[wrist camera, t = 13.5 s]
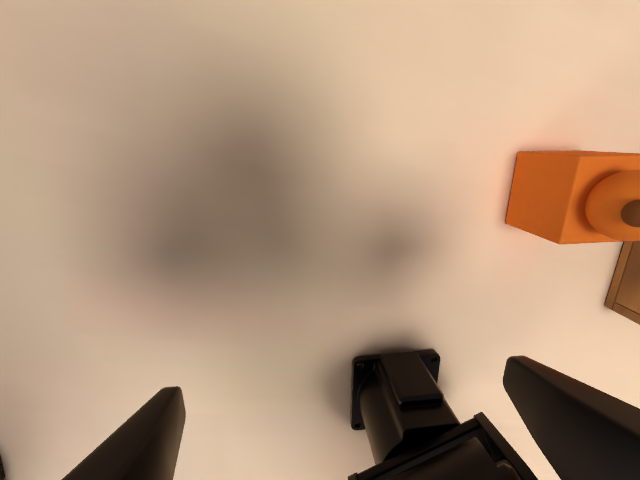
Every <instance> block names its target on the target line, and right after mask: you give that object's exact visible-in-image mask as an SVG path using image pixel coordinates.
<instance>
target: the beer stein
mask: <svg viewBox="0 0 640 480" xmlns="http://www.w3.org/2000/svg"><path fill="white" fill-rule="evenodd" d="M4 477H5V476H4V471H3V467H2V463H1V459H0V480H4Z"/></svg>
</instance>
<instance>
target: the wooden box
mask: <svg viewBox="0 0 640 480" xmlns="http://www.w3.org/2000/svg"><path fill="white" fill-rule="evenodd" d="M605 307H607V308H609V309H611V310H613V311H615V312H617V313H619V314H621V315H622V316H624V317H626V318H628V319H630V320H632V321H634V322H636V323H638V324H640V241H624V244H623V247H622V251H621V254H620V257H619V260H618V264H617V267H616V270H615V273H614V277H613V280H612V283H611V286H610V290H609V293H608V296H607V299H606V303H605Z"/></svg>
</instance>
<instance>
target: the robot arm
mask: <svg viewBox="0 0 640 480" xmlns="http://www.w3.org/2000/svg"><path fill="white" fill-rule="evenodd" d="M432 357H434V358H432ZM431 358H432V359H431ZM359 363H362V364H361V365H357V364H359ZM439 365H440V356H439V355H438V353H437V352H436V351H434V350H429V351H418V352H406V353H394V354H382V355H370V356H359V357H356V358H354V359H353V361H352V376H351V411H350V423H351V427H352V429H353V430H364V429H366V432H367V436H368V439H369V443H370V446H371V450H372V453H373V457H374V460H375V464H376V465H375V466H373V467H371V468H369V469H367V470H365V471H363V472H361V473H358V474H357V473H354V474H352V475H350V476H348V480H538V479H537V478H536V476H535V475H534V473H533V472H532V471H531V469H530V468H529V467H528V466H527V464H526V463H525V462H524V461H523V460H522V458H521V457H520V456H519V455H518V454H517V452H516V451H515V450H514V449H513V448H512V447H511V445H510V444H509V443H508V442H507V441H506V439H505V438H504V437H503V436H502V435H501V434H500V432H499V431H498V430H497V429H496V428H495V427H494V425H493V424H492V423H491V422H490V421H489V419H488V418H487V417H486V416H485V415H484V414H483V412H480V413H478V414H476V415H474V418H472V419H470V420H468V421H466V422H464V423H462V424H460V422H459V421H458V419H457V417H456V416H455V414H454V413H453V411H452V409H451V408H450V406H449V405H448V403H447V401H446V400H445V398H444V395H443V393H442V391H441V390H440V388H439V387H438V385H437V380H438V372H439ZM503 385H504V388H505V390H506V392H507V394H508V395H509V397H510V399H511V401H512V402H513V404H514V406H515V408H516V409H517V411H518V413H519V415H520V416H521V418H522V420H523V422H524V423H525V425H526V427H527V428H528V430H529V432H530V434H531V435H532V437H533V439H534V440H535V442H536V444H537V445H538V447H539V448H540V450H541V451H542V453H543V454H544V455H545V457H546V458H547V460H548V461H549V463H550V464H551V466H552V467H553V469H554V470H555V471H556V473H557V474H558V476H559V477H560V479H561V480H640V409H639V408H637V407H634V406H632V405H630V404H628V403H626V402H624V401H621V400H619V399H617V398H615V397H613V396H611V395H608V394H606V393H604V392H602V391H600V390H598V389H595V388H593V387H591V386H589V385H587V384H584V383H582V382H580V381H578V380H576V379H574V378H571V377H569V376H567V375H565V374H563V373H561V372H558V371H556V370H554V369H552V368H550V367H548V366H545V365H543V364H541V363H539V362H537V361H534V360H532V359H530V358H528V357H526V356H511V357H509V358H508V359H507V362H506V366H505V371H504V376H503ZM185 417H186V412H185V406H184V400H183V395H182V390H181V388H180V387H178V386H176V387H165V388H163V389H161V390H160V391H159V392H158V393H157V394H156V395H154V396H153V397H152V398H151V399H150V400H149V401H148V402H147V403H146V404H145V405H143V406H142V407H141V408H140V409H139V410H138V411H137V412H136V413H135V414H134V415H132V416H131V417H130V418H129V419H128V420H127V421H126V422H125V423H124V424H122V425H121V426H120V427H119V428H118V429H117V430H116V431H115V432H114V433H113V434H111V435H110V436H109V437H108V438H107V439H106V440H105V441H104V442H103V443H102V444H100V445H99V446H98V447H97V448H96V449H95V450H94V451H93V452H92V453H91V454H89V455H88V456H87V457H86V458H85V459H84V460H83V461H82V462H81V463H80V464H78V465H77V466H76V467H75V468H74V469H73V470H72V471H71V472H70V473H69V474H67V475H66V476H65V477H64V478H63V479H62V480H173V476H174V472H175V467H176V462H177V457H178V452H179V448H180V443H181V438H182V433H183V428H184V424H185Z"/></svg>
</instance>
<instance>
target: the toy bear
mask: <svg viewBox="0 0 640 480" xmlns="http://www.w3.org/2000/svg"><path fill="white" fill-rule="evenodd" d="M506 224H509V225H511V226H514V227H516V228H519V229H522V230H524V231H527V232H529V233H532V234H534V235H537V236H539V237H542V238H545V239H547V240H550V241H552V242H555V243H557V244H576V243H596V242H615V241H640V154H635V153H616V152H596V151H527V152H518V155H517V161H516V167H515V172H514V178H513V183H512V189H511V194H510V200H509V206H508V211H507V217H506Z"/></svg>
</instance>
